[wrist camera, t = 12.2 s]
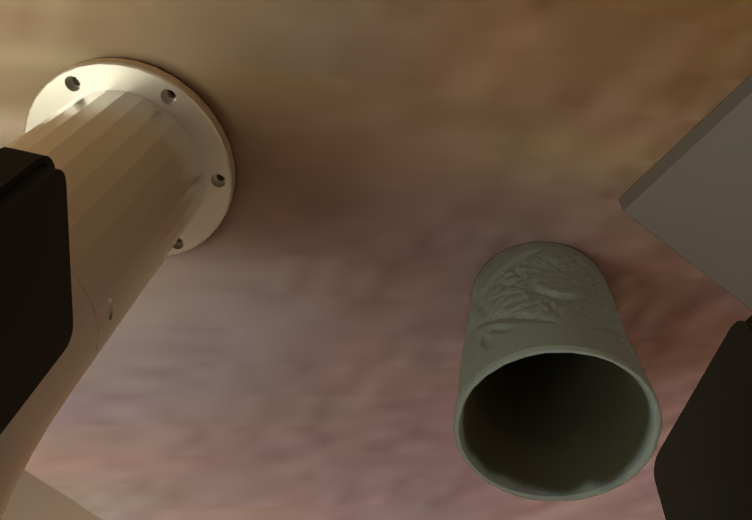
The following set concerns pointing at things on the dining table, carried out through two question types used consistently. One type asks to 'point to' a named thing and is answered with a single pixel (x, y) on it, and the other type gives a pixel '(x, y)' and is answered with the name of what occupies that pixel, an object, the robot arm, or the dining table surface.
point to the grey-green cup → (551, 380)
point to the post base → (706, 195)
